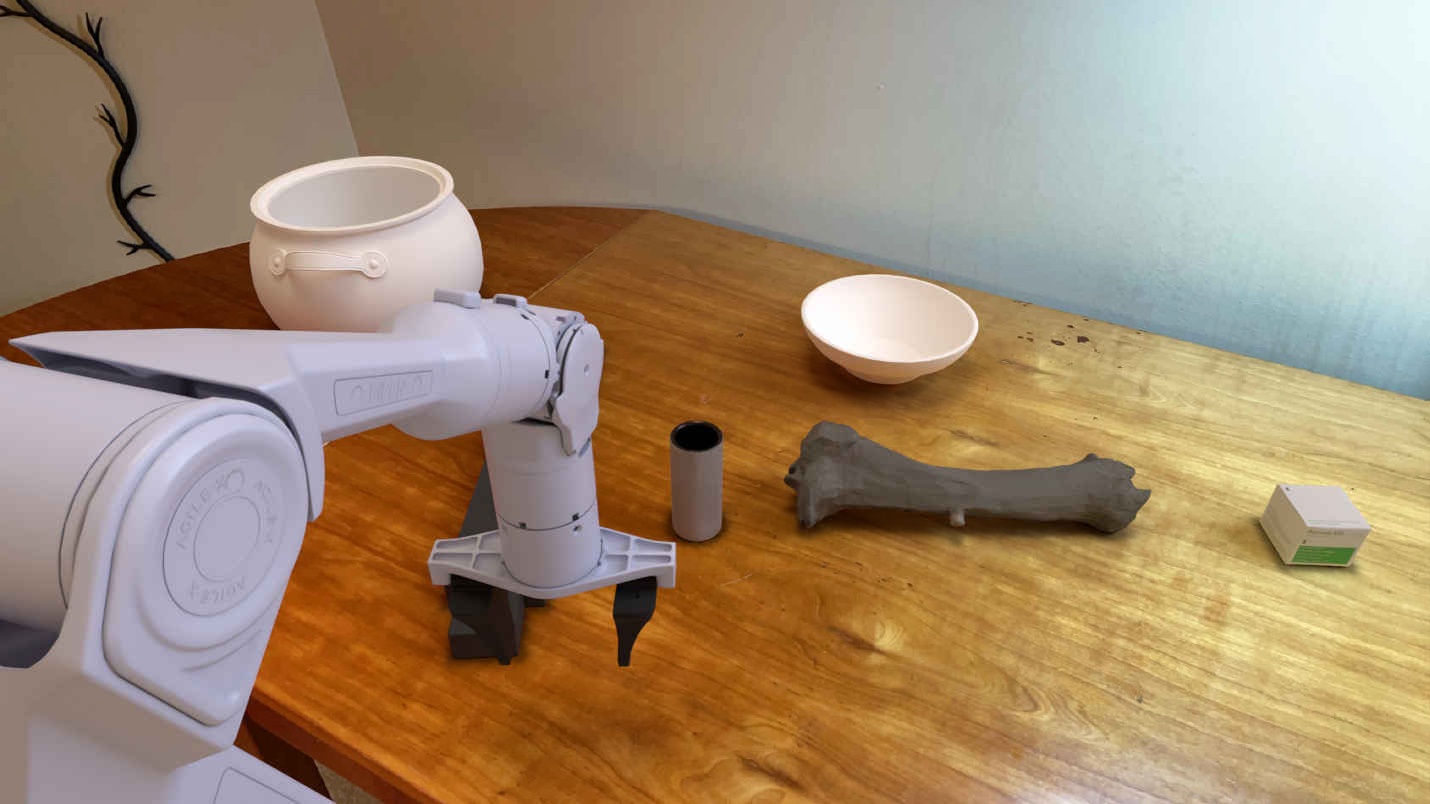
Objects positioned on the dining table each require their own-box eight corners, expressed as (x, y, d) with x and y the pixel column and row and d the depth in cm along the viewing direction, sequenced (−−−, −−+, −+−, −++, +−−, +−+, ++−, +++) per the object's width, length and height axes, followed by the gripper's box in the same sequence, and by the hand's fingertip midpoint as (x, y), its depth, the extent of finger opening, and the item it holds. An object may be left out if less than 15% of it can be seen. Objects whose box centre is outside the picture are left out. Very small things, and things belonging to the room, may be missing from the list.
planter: (731, 519, 84) (733, 430, 78) (704, 549, 80) (704, 458, 74) (690, 502, 85) (688, 413, 80) (662, 530, 82) (659, 440, 76)
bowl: (957, 431, 95) (968, 376, 91) (777, 395, 100) (780, 342, 96) (976, 339, 110) (986, 289, 106) (819, 312, 115) (823, 263, 111)
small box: (1284, 566, 79) (1306, 525, 76) (1256, 521, 84) (1275, 481, 81) (1351, 569, 79) (1375, 528, 76) (1319, 524, 84) (1341, 483, 81)
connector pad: (518, 655, 71) (514, 631, 69) (453, 659, 70) (447, 635, 69) (528, 580, 77) (524, 556, 76) (469, 582, 77) (464, 559, 75)
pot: (325, 257, 127) (294, 144, 117) (513, 262, 126) (497, 148, 117) (223, 373, 103) (175, 242, 93) (455, 380, 102) (429, 248, 93)
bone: (781, 541, 81) (786, 460, 76) (780, 472, 89) (785, 395, 84) (1149, 555, 80) (1181, 475, 75) (1115, 484, 88) (1141, 407, 83)
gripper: (676, 453, 55) (680, 608, 62) (436, 450, 55) (469, 605, 63) (670, 535, 49) (675, 694, 57) (402, 532, 49) (443, 691, 57)
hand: (566, 653), depth 59 cm, fingers open, 7 cm apart
